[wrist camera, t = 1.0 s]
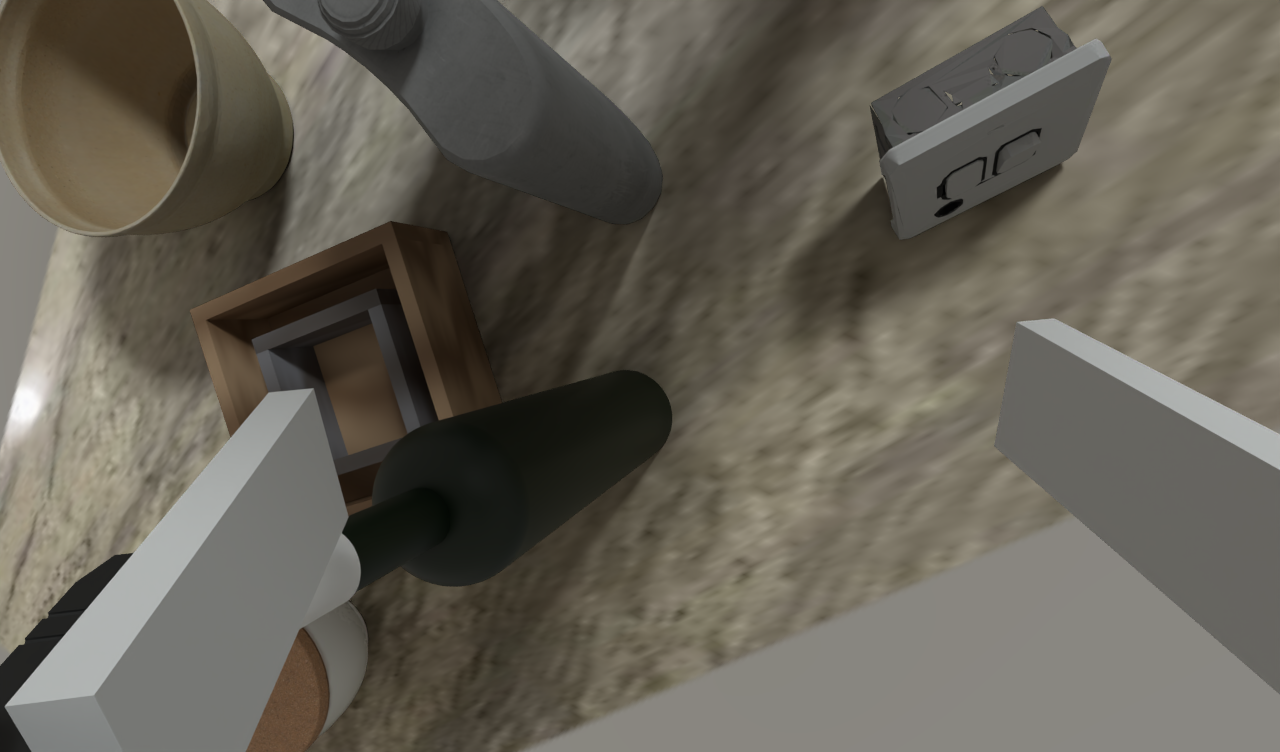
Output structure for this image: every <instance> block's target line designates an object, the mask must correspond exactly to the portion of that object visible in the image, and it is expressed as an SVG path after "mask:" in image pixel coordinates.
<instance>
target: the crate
mask: <svg viewBox="0 0 1280 752" xmlns="http://www.w3.org/2000/svg"><path fill="white" fill-rule="evenodd" d="M190 313H191V316H192V319H193V322H194V325H195V329H196V332H197V335H198V338H199V341H200V344H201V347H202V350H203V353H204V356H205V359H206V363H207V366H208V369H209V372H210V375H211V378H212V381H213V384H214V387H215V390H216V394H217V397H218V400H219V403H220V406H221V409H222V412H223V415H224V418H225V421H226V425H227V428H228V431H229V434H230V437H232V436H233V434H234V433H235V432H236V431H237V430H238V428H239V427H240V426H241V425H242V424H243V423H244V421H245V420H246V419H247V418H248V417H249V415H250V414H251V413H252V412H253V411H254V409H255V408H256V407H257V406H258V405H259V404H260V402H261V401H262V400H263V399H264V398H265V396H266V395H267V394H268V393H269V392H280V391H290V390H301V389H312V388H314V391H315V395H316V399H317V402H318V406H319V410H320V414H321V417H322V421H323V425H324V428H325V432H326V436H327V439H328V443H329V447H330V450H331V454H332V458H333V462H334V465H335V469H336V473H337V476H338V480H339V484H340V487H341V491H342V495H343V498H344V502H345V506H346V509H347V513H348V516H349V515H352V514H354V513H357V512H359V511H361V510H364V509H366V508H369V507H371V506H372V493H373V486H374V482H375V478H376V475H377V472H378V470H379V467H380V465H381V463H382V461H383V460H384V458H385V457H386V455H387V454H388V452H389V451H390V450H391V448H392V447H393V446H394V445H395V444H396V443H397V442H398V441H399V440H400V439H402V438H403V437H404V436H405V435H407V434H408V433H410V432H411V431H413V430H415V429H416V428H418V427H421V426H423V425H425V424H428V423H432V422H435V421H439V420H442V419H446V418H450V417H453V416H457V415H460V414H464V413H468V412H471V411H475V410H478V409H482V408H486V407H489V406H493V405H496V404H500V403H502V401H501V398H500V395H499V392H498V389H497V385H496V382H495V379H494V376H493V373H492V370H491V367H490V364H489V361H488V357H487V354H486V351H485V348H484V345H483V342H482V339H481V336H480V333H479V329H478V326H477V323H476V320H475V317H474V314H473V311H472V308H471V305H470V301H469V298H468V295H467V292H466V289H465V286H464V283H463V280H462V277H461V273H460V270H459V267H458V264H457V261H456V258H455V255H454V252H453V249H452V245H451V242H450V239H449V236H448V233H447V232H445V231H440V230H434V229H429V228H424V227H419V226H413V225H408V224H403V223H398V222H392V221H390V222H388V223H385V224H383V225H381V226H379V227H376V228H374V229H372V230H369V231H367V232H365V233H363V234H360V235H358V236H356V237H354V238H351V239H349V240H347V241H345V242H342V243H340V244H338V245H336V246H333V247H331V248H329V249H326V250H324V251H322V252H320V253H317V254H315V255H313V256H311V257H308V258H306V259H304V260H302V261H299V262H297V263H295V264H293V265H290V266H288V267H286V268H283V269H281V270H279V271H277V272H274V273H272V274H270V275H268V276H265V277H263V278H261V279H259V280H256V281H254V282H252V283H250V284H247V285H245V286H243V287H240V288H238V289H236V290H234V291H231V292H229V293H227V294H225V295H222V296H220V297H218V298H216V299H213V300H211V301H209V302H206V303H204V304H202V305H200V306H197V307H195V308H193V309H191V310H190Z"/></svg>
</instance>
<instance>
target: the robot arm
mask: <svg viewBox="0 0 1280 752" xmlns="http://www.w3.org/2000/svg"><path fill="white" fill-rule="evenodd" d="M994 446H995V447H996V448H997V449H998V450H999V451H1000V452H1002V453H1003V454H1004V455H1005V456H1006V457H1007V458H1008V459H1010V460H1011V461H1012V462H1013V463H1014V464H1015V465H1016V466H1018V467H1019V468H1020V469H1021V470H1022V471H1023V472H1025V473H1026V474H1027V475H1028V476H1029V477H1030V478H1031V479H1033V480H1034V481H1035V482H1036V483H1037V484H1038V485H1039V486H1041V487H1042V488H1043V489H1044V490H1045V491H1046V492H1048V493H1049V494H1050V495H1051V496H1052V497H1053V498H1054V499H1056V500H1057V501H1058V502H1059V503H1060V504H1061V505H1062V506H1064V507H1065V508H1066V509H1067V510H1068V511H1069V512H1071V513H1072V514H1073V515H1074V516H1075V517H1076V518H1077V519H1079V520H1080V521H1081V522H1082V523H1083V524H1085V526H1087V527H1088V528H1089V529H1090V530H1091V531H1092V532H1094V533H1095V534H1096V535H1097V536H1098V537H1100V539H1102V540H1103V541H1104V542H1105V543H1106V544H1107V545H1108V546H1110V547H1111V548H1112V549H1113V550H1114V551H1115V552H1117V553H1118V554H1119V555H1120V556H1121V557H1122V558H1124V559H1125V560H1126V561H1127V562H1128V563H1129V564H1130V565H1132V566H1133V567H1134V568H1135V569H1136V570H1137V571H1138V572H1140V573H1141V574H1142V575H1143V576H1144V577H1145V578H1147V579H1148V580H1149V581H1150V582H1151V583H1152V584H1153V585H1155V586H1156V587H1157V588H1158V589H1159V590H1160V591H1161V592H1163V593H1164V594H1165V595H1166V596H1167V597H1168V598H1169V599H1171V600H1172V601H1173V602H1174V603H1175V604H1176V605H1178V606H1179V607H1180V608H1181V609H1182V610H1183V611H1184V612H1186V613H1187V614H1188V615H1189V616H1190V617H1191V618H1192V619H1194V620H1195V621H1196V622H1197V623H1199V624H1200V625H1201V626H1202V627H1203V628H1204V629H1205V630H1206V631H1207V632H1209V633H1210V634H1211V635H1212V636H1213V637H1214V638H1215V639H1217V640H1218V641H1219V642H1220V643H1221V644H1222V645H1224V646H1225V647H1226V648H1227V649H1228V650H1229V651H1230V652H1232V653H1233V654H1234V655H1235V656H1236V657H1237V658H1238V659H1240V660H1241V661H1242V662H1243V663H1244V664H1245V665H1247V666H1248V667H1249V668H1250V669H1251V670H1252V671H1253V672H1255V673H1256V674H1257V675H1258V676H1259V677H1260V678H1261V679H1263V680H1264V681H1265V682H1266V683H1267V684H1268V685H1270V686H1271V687H1272V688H1273V689H1274V690H1275V691H1277V692H1278V693H1279V694H1280V434H1278V433H1276V432H1274V431H1272V430H1270V429H1268V428H1267V427H1265V426H1263V425H1261V424H1259V423H1257V422H1255V421H1253V420H1251V419H1249V418H1247V417H1245V416H1243V415H1241V414H1239V413H1237V412H1235V411H1233V410H1231V409H1229V408H1228V407H1226V406H1224V405H1222V404H1220V403H1218V402H1216V401H1214V400H1212V399H1210V398H1208V397H1206V396H1204V395H1202V394H1200V393H1198V392H1196V391H1194V390H1192V389H1191V388H1189V387H1187V386H1185V385H1183V384H1181V383H1179V382H1177V381H1175V380H1173V379H1171V378H1169V377H1167V376H1165V375H1163V374H1161V373H1159V372H1157V371H1155V370H1154V369H1152V368H1150V367H1148V366H1146V365H1144V364H1142V363H1140V362H1138V361H1136V360H1134V359H1132V358H1130V357H1128V356H1126V355H1124V354H1122V353H1120V352H1118V351H1117V350H1115V349H1113V348H1111V347H1109V346H1107V345H1105V344H1103V343H1101V342H1099V341H1097V340H1095V339H1093V338H1091V337H1089V336H1087V335H1085V334H1083V333H1081V332H1079V331H1078V330H1076V329H1074V328H1072V327H1070V326H1068V325H1066V324H1064V323H1062V322H1060V321H1058V320H1056V319H1043V320H1033V321H1022V322H1017V323H1016V328H1015V334H1014V339H1013V345H1012V351H1011V356H1010V362H1009V367H1008V373H1007V378H1006V384H1005V389H1004V395H1003V401H1002V406H1001V412H1000V417H999V423H998V428H997V434H996V439H995V445H994ZM347 519H348V513H347V509H346V506H345V502H344V498H343V495H342V491H341V487H340V484H339V480H338V476H337V473H336V469H335V465H334V462H333V458H332V454H331V450H330V447H329V443H328V439H327V436H326V432H325V428H324V425H323V421H322V417H321V414H320V410H319V406H318V402H317V399H316V395H315V391H314V388H312V389H301V390H290V391H280V392H269V393H268V394H267V395H266V396H265V398H264V399H263V400H262V401H261V402H260V404H259V405H258V406H257V407H256V408H255V409H254V411H253V412H252V413H251V414H250V415H249V417H248V418H247V419H246V420H245V421H244V423H243V424H242V425H241V426H240V427H239V428H238V430H237V431H236V432H235V433H234V434H233V436H232V437H231V438H230V439H229V440H228V442H227V443H226V444H225V445H224V446H223V447H222V449H221V450H220V451H219V452H218V453H217V455H216V456H215V457H214V458H213V459H212V461H211V462H210V463H209V464H208V465H207V467H206V468H205V469H204V470H203V471H202V472H201V474H200V475H199V476H198V477H197V478H196V480H195V481H194V482H193V483H192V484H191V486H190V487H189V488H188V489H187V490H186V491H185V493H184V494H183V495H182V496H181V497H180V499H179V500H178V501H177V502H176V503H175V505H174V506H173V507H172V508H171V509H170V510H169V512H168V513H167V514H166V515H165V516H164V518H163V519H162V520H161V521H160V522H159V524H158V525H157V526H156V527H155V528H154V530H153V531H152V532H151V533H150V534H149V535H148V537H147V538H146V539H145V540H144V541H143V543H142V544H141V545H140V546H139V547H138V549H137V550H136V551H135V552H134V553H130V554H121V555H114V556H113V557H111V558H110V559H109V560H107V561H106V562H104V563H103V564H101V565H100V566H99V567H97V568H96V569H94V570H93V571H91V572H90V573H89V574H87V575H86V576H84V577H83V578H81V579H80V580H79V581H77V582H76V583H75V584H74V585H73V586H72V587H71V588H70V589H69V590H68V591H67V593H66V594H65V595H64V596H63V597H62V598H61V599H60V600H59V601H58V603H57V604H56V605H55V606H54V607H53V608H52V609H51V610H50V611H49V612H48V614H49V616H48V618H47V619H42V620H41V621H40V622H39V624H38V625H37V626H36V627H35V628H34V629H33V630H32V631H31V632H30V633H29V635H28V636H27V637H26V638H25V644H24V645H19V646H18V647H17V648H16V649H15V650H14V651H13V652H12V653H11V654H10V656H9V657H8V658H7V659H6V660H5V661H4V662H3V663H2V664H1V666H0V752H246V750H247V748H248V745H249V743H250V741H251V739H252V736H253V734H254V732H255V730H256V727H257V725H258V723H259V720H260V718H261V716H262V714H263V711H264V709H265V707H266V704H267V702H268V700H269V698H270V695H271V693H272V691H273V688H274V686H275V684H276V682H277V679H278V677H279V675H280V672H281V670H282V668H283V666H284V663H285V661H286V659H287V656H288V654H289V652H290V650H291V647H292V645H293V643H294V640H295V638H296V636H297V634H298V631H299V629H300V627H301V624H302V622H303V620H304V618H305V615H306V613H307V611H308V609H309V606H310V604H311V602H312V599H313V597H314V595H315V593H316V590H317V588H318V586H319V583H320V581H321V579H322V577H323V574H324V572H325V570H326V567H327V565H328V563H329V561H330V558H331V556H332V554H333V551H334V549H335V547H336V545H337V542H338V540H339V538H340V535H341V533H342V531H343V529H344V526H345V524H346V522H347Z"/></svg>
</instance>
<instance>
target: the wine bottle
mask: <svg viewBox="0 0 1280 752" xmlns="http://www.w3.org/2000/svg"><path fill="white" fill-rule="evenodd" d="M671 425H672V411H671V406H670V403H669V400H668V398H667V396H666V394H665V393H664V391H663V390H662V388H661V387H660V386H659V385H658V384H657V383H656V382H655V381H654V380H653V379H651V378H650V377H648V376H646V375H644V374H642V373H639V372H636V371H630V370H622V371H616V372H612V373H608V374H605V375H601V376H598V377H594V378H590V379H587V380H583V381H580V382H576V383H572V384H569V385H565V386H561V387H558V388H554V389H551V390H547V391H543V392H540V393H536V394H533V395H529V396H525V397H522V398H518V399H515V400H511V401H507V402H504V403H500V404H496V405H493V406H489V407H486V408H482V409H478V410H475V411H471V412H468V413H464V414H460V415H457V416H453V417H450V418H446V419H442V420H439V421H435V422H432V423H428V424H425V425H423V426H421V427H418V428H416V429H415V430H413V431H411V432H410V433H408V434H407V435H405V436H404V437H403V438H402V439H400V440H399V441H398V442H397V443H396V444H395V445H394V446H393V447H392V448H391V450H390V451H389V452H388V454H387V455H386V457H385V458H384V460H383V461H382V463H381V465H380V467H379V470H378V472H377V475H376V478H375V482H374V486H373V493H372V506H371V507H369V508H366V509H364V510H361V511H359V512H357V513H354V514H352V515H349V516H348V519H347V522H346V524H345V526H344V529H343V531H342V533H341V535H340V538H339V540H338V542H337V545H336V547H335V549H334V551H333V554H332V556H331V558H330V561H329V563H328V565H327V567H326V570H325V572H324V574H323V577H322V579H321V581H320V583H319V586H318V588H317V590H316V593H315V595H314V597H313V599H312V602H311V604H310V606H309V609H308V611H307V613H306V615H305V618H304V620H303V622H302V624H301V627H300V629H301V628H302V627H304V626H306V625H307V624H309V623H311V622H313V621H314V620H316V619H318V618H319V617H321V616H323V615H324V614H326V613H328V612H330V611H331V610H333V609H335V608H336V607H338V606H340V605H341V604H343V603H345V602H347V601H348V600H349V599H350V598H351V597H352V596H353V595H354V594H355V592H357V591H358V590H360V589H362V588H363V587H365V586H367V585H369V584H370V583H372V582H374V581H375V580H377V579H379V578H381V577H382V576H384V575H386V574H388V573H389V572H391V571H393V570H394V569H396V568H398V567H400V566H401V567H402V568H404V569H405V570H406V571H407V572H409V573H410V574H412V575H414V576H415V577H417V578H419V579H421V580H424V581H426V582H429V583H432V584H436V585H442V586H466V585H471V584H475V583H479V582H481V581H484V580H486V579H489V578H491V577H492V576H494V575H496V574H497V573H499V572H500V571H502V570H503V569H504V568H506V567H507V566H508V565H510V564H511V563H512V562H514V561H515V560H516V559H518V558H519V557H520V556H521V555H523V554H524V553H525V552H527V551H528V550H529V549H531V548H532V547H533V546H535V545H536V544H537V543H538V542H540V541H541V540H542V539H544V538H545V537H546V536H548V535H549V534H550V533H552V532H553V531H554V530H556V529H557V528H558V527H559V526H561V525H562V524H563V523H565V522H566V521H567V520H569V519H570V518H571V517H573V516H574V515H575V514H576V513H578V512H579V511H580V510H582V509H583V508H584V507H586V506H587V505H588V504H590V503H591V502H592V501H594V500H595V499H596V498H597V497H599V496H600V495H601V494H603V493H604V492H605V491H607V490H608V489H609V488H611V487H612V486H613V485H615V484H616V483H617V482H618V481H620V480H621V479H622V478H624V477H625V476H626V475H628V474H629V473H630V472H632V471H633V470H634V469H635V468H637V467H638V466H639V465H641V464H642V463H643V462H645V461H646V460H647V459H649V458H650V457H651V456H653V455H654V454H655V453H656V452H658V451H659V450H660V449H661V447H662V446H663V445H664V443H665V442H666V440H667V438H668V436H669V433H670V430H671Z"/></svg>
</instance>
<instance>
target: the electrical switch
mask: <svg viewBox="0 0 1280 752" xmlns="http://www.w3.org/2000/svg"><path fill="white" fill-rule="evenodd" d="M1035 30H1038V32H1037V31H1035ZM1011 33H1013V34H1011ZM1008 34H1010V35H1008ZM994 57H995V60H994ZM995 61H996V62H995ZM1110 62H1111V57H1110V55H1109V53H1108V52H1107V50H1106V48H1105V47H1104V45H1103V43H1102V42H1101V41H1099V40H1098V39H1094V40H1092V41H1090V42H1088V43H1086V44H1085V45H1083V46H1081V47H1079V48H1076V47H1075V46H1074V45H1073V43H1072V41H1071V39H1070V38H1069V36H1068V34H1066V33H1065V32H1063V31H1062V30H1060V29H1059V28H1058V27H1057V26H1056V24H1055V23H1054V22H1053V20H1052V19H1051V17H1050V16H1049V14H1048V13H1047V12H1046V10H1045V9H1044V7H1043V6H1041V7H1040V8H1038V9H1036V10H1034V11H1033V12H1031V13H1029V14H1027V15H1025V16H1024V17H1022V18H1020V19H1018V20H1017V21H1015V22H1013V23H1011V24H1010V25H1008V26H1006V27H1004V28H1002V29H1001V30H999V31H997V32H995V33H994V34H992V35H990V36H988V37H987V38H985V39H983V40H981V41H980V42H978V43H976V44H974V45H972V46H971V47H969V48H967V49H965V50H964V51H962V52H960V53H958V54H957V55H955V56H953V57H951V58H949V59H948V60H946V61H944V62H942V63H941V64H939V65H937V66H935V67H934V68H932V69H930V70H928V71H927V72H925V73H923V74H921V75H919V76H918V77H916V78H914V79H912V80H911V81H909V82H907V83H905V84H904V85H902V86H900V87H898V88H897V89H895V90H893V91H891V92H889V93H888V94H886V95H884V96H882V97H881V98H879V99H877V100H875V101H874V102H872V103H871V105H872V107H873V108H874V110H875V112H876V114H877V116H878V117H877V116H876V114H875V113H874V111H873V110H872V108H871V106H870V109H871V114H872V120H873V125H874V130H875V135H876V140H877V146H878V151H879V156H880V161H879V162H880V167H881V172H882V175H883V176H884V178H885V179H886V181H887V187H888V193H889V198H890V204H891V210H892V215H893V220H891V226H892V228H893V230H894V231H895V233H896V235H897V236H898V238H899V239H900V240H901V239H910V238H912V237H914V236H916V235H918V234H920V233H922V232H924V231H926V230H928V229H930V228H932V227H934V226H936V225H938V224H940V223H942V222H944V221H946V220H948V219H950V218H952V217H954V216H956V215H958V214H960V213H962V212H964V211H966V210H968V209H970V208H972V207H974V206H976V205H978V204H980V203H982V202H984V201H986V200H988V199H990V198H992V197H994V196H996V195H998V194H1000V193H1002V192H1004V191H1006V190H1008V189H1010V188H1012V187H1014V186H1016V185H1018V184H1020V183H1022V182H1024V181H1026V180H1028V179H1030V178H1032V177H1034V176H1036V175H1038V174H1040V173H1042V172H1044V171H1046V170H1048V169H1050V168H1052V167H1054V166H1056V165H1058V164H1060V163H1062V162H1064V161H1066V160H1067V159H1069V158H1070V157H1071V156H1072V155H1073V154H1074V153H1076V152H1077V150H1078V148H1079V145H1080V142H1081V139H1082V137H1083V134H1084V131H1085V129H1086V126H1087V123H1088V121H1089V118H1090V115H1091V113H1092V110H1093V107H1094V105H1095V102H1096V99H1097V97H1098V94H1099V91H1100V89H1101V86H1102V83H1103V81H1104V78H1105V75H1106V73H1107V70H1108V67H1109V65H1110ZM988 67H989V68H988ZM989 69H990V70H991V71H992V73H993V74H994V75H992V74H990V72H989ZM1007 74H1012V75H1013V76H1008V75H1007ZM996 83H998V84H996ZM995 84H996V85H995ZM994 85H995V86H994ZM945 92H947V93H949V94H951V95H952V97H953V102H952V101H951V100H950V98H949V97H948V96H947V95H946V93H945ZM898 97H900V98H899V99H898ZM961 102H962V105H960V106H957V105H958V104H960V103H961ZM878 118H879V119H878ZM880 121H881V122H880ZM881 123H882V124H881Z"/></svg>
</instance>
